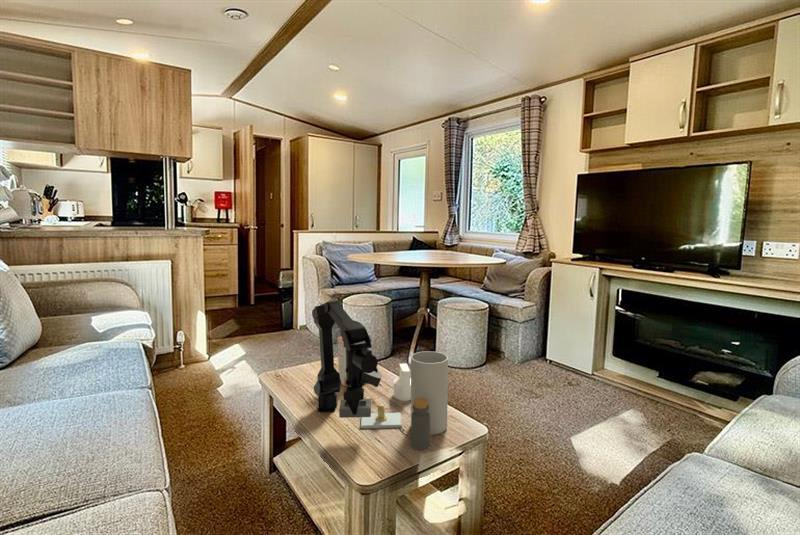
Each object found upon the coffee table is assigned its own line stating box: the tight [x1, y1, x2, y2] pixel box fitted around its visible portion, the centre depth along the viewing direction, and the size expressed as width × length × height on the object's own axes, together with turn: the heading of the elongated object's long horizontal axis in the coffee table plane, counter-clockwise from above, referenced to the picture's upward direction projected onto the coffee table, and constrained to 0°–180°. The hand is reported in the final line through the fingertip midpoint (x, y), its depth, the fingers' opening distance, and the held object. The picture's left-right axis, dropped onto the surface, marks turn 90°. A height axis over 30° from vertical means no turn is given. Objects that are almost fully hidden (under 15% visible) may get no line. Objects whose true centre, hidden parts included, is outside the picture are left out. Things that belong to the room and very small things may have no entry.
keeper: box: [360, 403, 402, 429], centre depth 151 cm, size 14×9×6 cm, turn 92°
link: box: [338, 398, 372, 419], centre depth 141 cm, size 10×7×3 cm
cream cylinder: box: [393, 362, 411, 402], centre depth 173 cm, size 9×9×12 cm
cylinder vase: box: [410, 350, 449, 436], centre depth 146 cm, size 12×12×25 cm
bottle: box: [410, 398, 431, 451], centre depth 135 cm, size 6×6×15 cm
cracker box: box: [336, 333, 372, 388], centre depth 187 cm, size 14×6×21 cm, turn 127°
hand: (355, 409), depth 141 cm, fingers closed on link, 7 cm apart
